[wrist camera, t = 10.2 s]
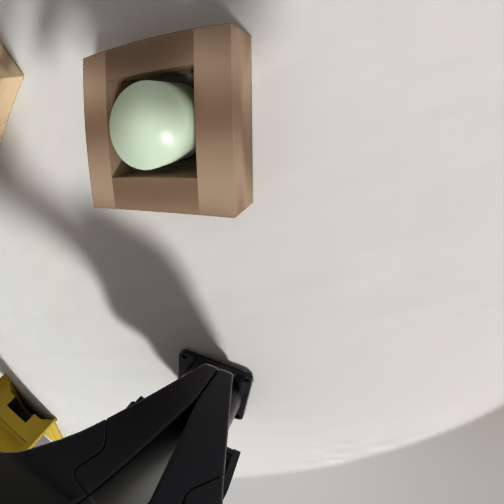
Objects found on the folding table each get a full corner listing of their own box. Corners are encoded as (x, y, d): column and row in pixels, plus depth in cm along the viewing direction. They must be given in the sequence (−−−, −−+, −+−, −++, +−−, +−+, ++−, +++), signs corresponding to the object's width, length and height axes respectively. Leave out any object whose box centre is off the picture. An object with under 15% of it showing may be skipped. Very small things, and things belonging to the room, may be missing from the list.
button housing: (252, 202, 19) (234, 218, 17) (121, 195, 22) (94, 207, 20) (250, 35, 15) (230, 23, 13) (113, 60, 18) (83, 58, 15)
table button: (210, 160, 19) (185, 169, 16) (142, 161, 20) (113, 170, 17) (207, 78, 17) (181, 73, 14) (138, 87, 18) (107, 88, 15)
